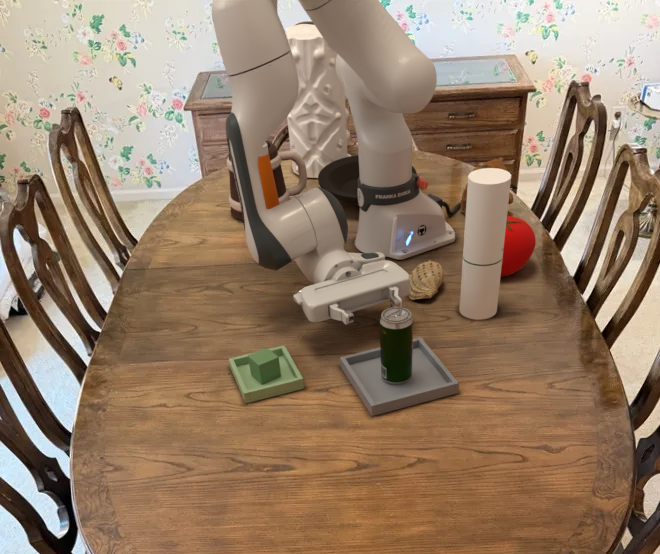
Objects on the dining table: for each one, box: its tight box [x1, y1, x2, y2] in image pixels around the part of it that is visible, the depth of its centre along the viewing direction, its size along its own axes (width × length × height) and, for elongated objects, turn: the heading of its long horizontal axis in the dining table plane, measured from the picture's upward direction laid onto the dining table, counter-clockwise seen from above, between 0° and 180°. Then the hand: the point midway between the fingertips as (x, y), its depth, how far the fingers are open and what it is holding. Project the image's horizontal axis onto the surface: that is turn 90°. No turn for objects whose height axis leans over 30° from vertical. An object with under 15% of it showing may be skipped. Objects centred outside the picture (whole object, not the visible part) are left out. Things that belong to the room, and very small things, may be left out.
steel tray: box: [339, 336, 460, 417], centre depth 124 cm, size 16×16×2 cm
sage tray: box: [228, 344, 305, 404], centre depth 127 cm, size 11×12×2 cm
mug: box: [226, 140, 308, 222], centre depth 173 cm, size 20×15×15 cm
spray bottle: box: [258, 142, 279, 209], centre depth 157 cm, size 7×11×26 cm, turn 127°
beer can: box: [379, 306, 414, 385], centre depth 120 cm, size 5×5×12 cm
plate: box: [317, 154, 418, 207], centre depth 178 cm, size 28×24×6 cm
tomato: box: [500, 215, 537, 278], centre depth 146 cm, size 14×13×10 cm
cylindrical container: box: [458, 168, 512, 321], centre depth 130 cm, size 7×7×25 cm
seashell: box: [408, 259, 445, 301], centre depth 144 cm, size 8×6×10 cm
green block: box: [248, 347, 281, 384], centre depth 126 cm, size 4×4×4 cm
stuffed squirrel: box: [458, 157, 514, 217], centre depth 163 cm, size 10×14×13 cm
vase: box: [284, 23, 352, 179], centre depth 185 cm, size 17×16×32 cm
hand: (374, 312), depth 125 cm, fingers open, 8 cm apart
